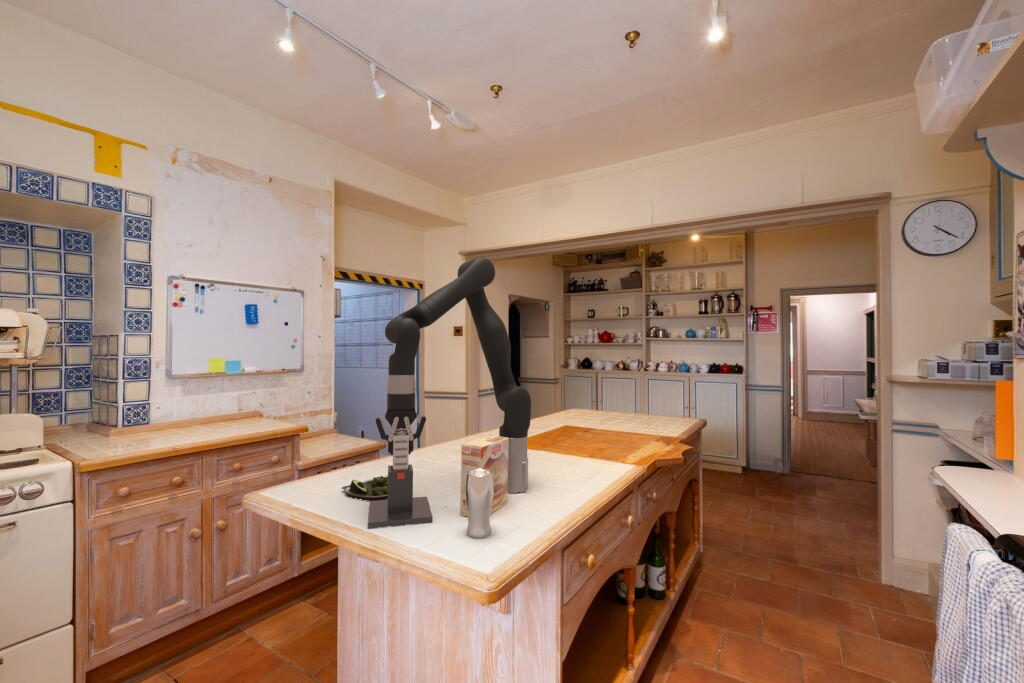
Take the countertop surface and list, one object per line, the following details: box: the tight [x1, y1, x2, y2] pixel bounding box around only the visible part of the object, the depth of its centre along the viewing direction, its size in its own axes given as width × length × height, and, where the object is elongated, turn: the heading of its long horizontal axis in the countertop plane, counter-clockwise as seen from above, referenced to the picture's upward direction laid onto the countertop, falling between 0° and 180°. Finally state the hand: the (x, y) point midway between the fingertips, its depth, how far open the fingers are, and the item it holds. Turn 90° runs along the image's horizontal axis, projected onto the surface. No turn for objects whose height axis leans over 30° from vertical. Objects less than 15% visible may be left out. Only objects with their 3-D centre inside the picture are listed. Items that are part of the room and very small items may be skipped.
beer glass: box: [465, 469, 494, 539], centre depth 110 cm, size 7×7×15 cm
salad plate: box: [340, 474, 388, 502], centre depth 141 cm, size 19×18×5 cm
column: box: [392, 428, 410, 471], centre depth 121 cm, size 4×4×21 cm
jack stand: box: [367, 463, 433, 529], centre depth 121 cm, size 16×16×12 cm
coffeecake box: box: [459, 434, 509, 518], centre depth 126 cm, size 15×7×20 cm, turn 151°
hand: (400, 453), depth 121 cm, fingers closed on column, 4 cm apart
